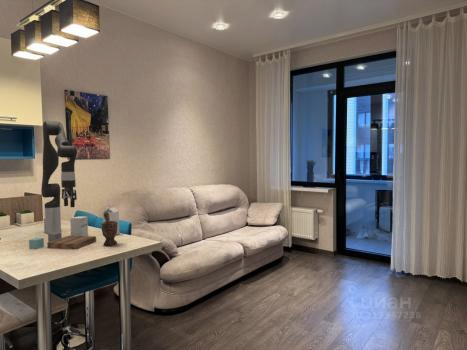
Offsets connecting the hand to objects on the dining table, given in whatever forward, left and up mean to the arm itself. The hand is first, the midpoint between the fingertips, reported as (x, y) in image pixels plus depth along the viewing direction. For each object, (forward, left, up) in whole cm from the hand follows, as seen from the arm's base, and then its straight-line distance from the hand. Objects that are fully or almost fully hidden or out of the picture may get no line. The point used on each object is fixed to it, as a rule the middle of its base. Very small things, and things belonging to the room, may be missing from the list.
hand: (69, 206), depth 196 cm
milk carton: (+14, +21, -21) cm, 33 cm away
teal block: (-10, -15, -21) cm, 28 cm away
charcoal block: (-10, -1, -21) cm, 24 cm away
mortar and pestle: (+29, -4, -21) cm, 36 cm away
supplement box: (-3, +12, -21) cm, 25 cm away
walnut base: (+6, -6, -21) cm, 23 cm away
